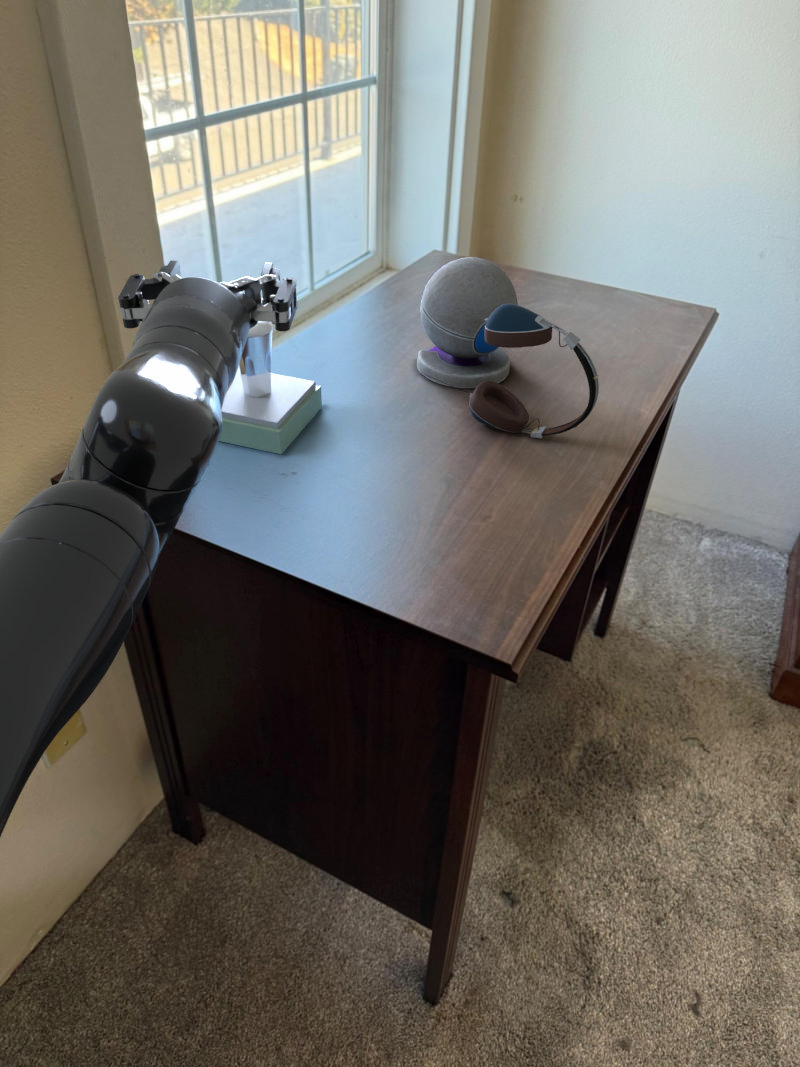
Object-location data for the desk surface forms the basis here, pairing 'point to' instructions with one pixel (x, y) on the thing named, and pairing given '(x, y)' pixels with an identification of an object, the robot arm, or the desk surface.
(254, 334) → the milkshake
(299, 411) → the scale
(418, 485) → the desk surface
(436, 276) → the webcam
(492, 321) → the headphones
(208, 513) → the desk surface
